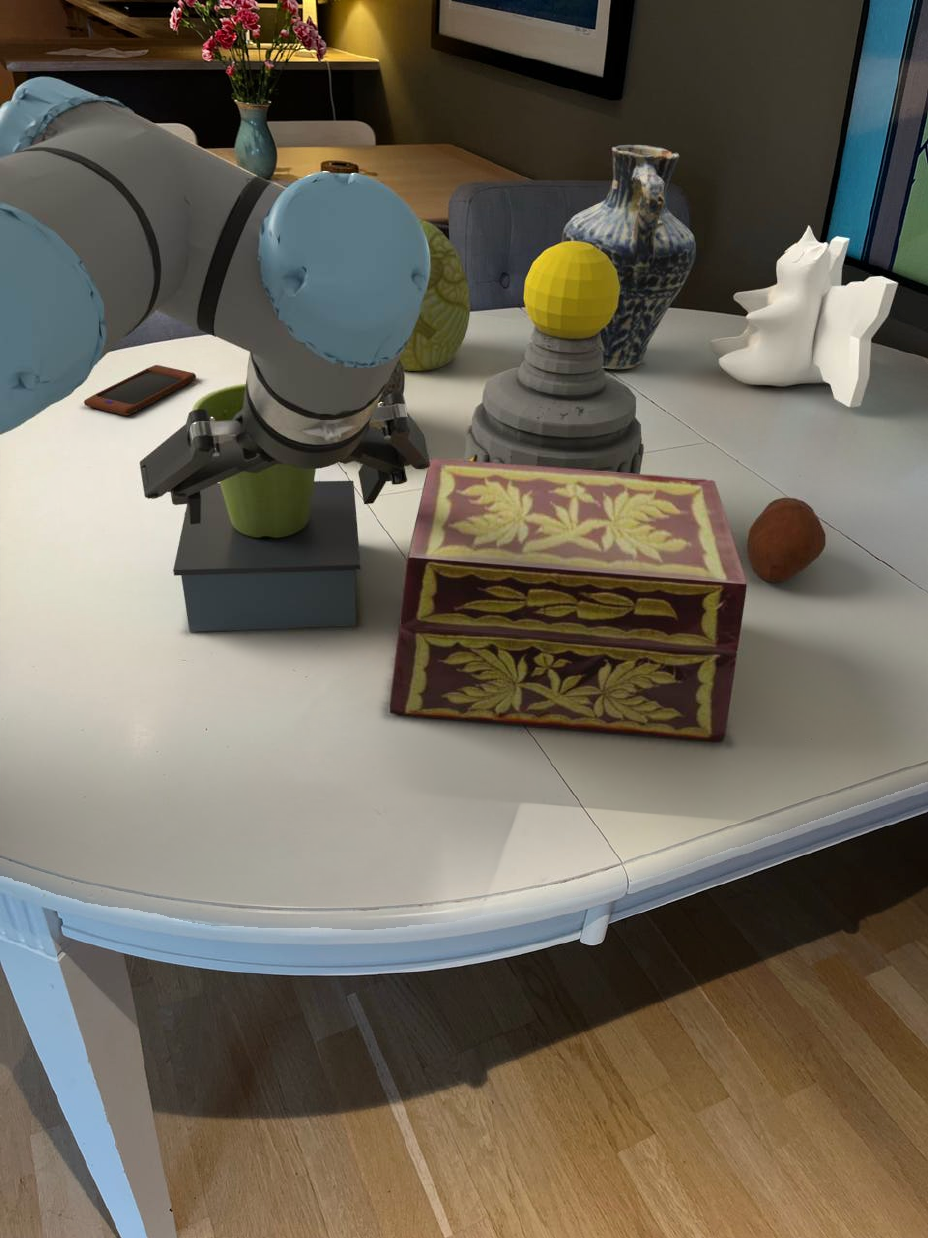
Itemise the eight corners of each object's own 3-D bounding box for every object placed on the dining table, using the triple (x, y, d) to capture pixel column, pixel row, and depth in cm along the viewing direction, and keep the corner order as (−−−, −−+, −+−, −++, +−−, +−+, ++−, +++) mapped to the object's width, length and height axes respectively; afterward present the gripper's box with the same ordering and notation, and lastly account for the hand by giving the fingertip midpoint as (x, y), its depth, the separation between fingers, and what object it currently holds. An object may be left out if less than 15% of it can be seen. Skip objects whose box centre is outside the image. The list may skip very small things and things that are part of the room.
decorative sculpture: (412, 387, 136) (414, 240, 124) (337, 355, 144) (333, 215, 133) (489, 361, 146) (498, 223, 134) (414, 332, 154) (417, 200, 143)
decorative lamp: (437, 495, 110) (448, 220, 92) (586, 477, 115) (622, 214, 98) (495, 583, 95) (520, 276, 78) (661, 557, 101) (719, 266, 84)
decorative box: (695, 613, 93) (728, 474, 84) (725, 744, 78) (768, 591, 69) (414, 591, 94) (417, 450, 85) (388, 715, 78) (389, 560, 70)
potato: (813, 547, 104) (833, 482, 100) (816, 604, 95) (839, 535, 91) (742, 535, 106) (759, 470, 101) (739, 590, 97) (757, 521, 92)
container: (183, 635, 86) (173, 570, 82) (199, 543, 99) (191, 483, 95) (361, 628, 88) (360, 564, 84) (354, 539, 101) (353, 480, 97)
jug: (536, 338, 155) (556, 133, 138) (649, 337, 158) (682, 137, 141) (570, 387, 138) (597, 162, 121) (696, 385, 142) (740, 165, 124)
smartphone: (81, 399, 124) (155, 363, 136) (83, 406, 125) (156, 369, 136) (126, 410, 122) (197, 372, 133) (127, 417, 123) (197, 378, 134)
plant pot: (181, 539, 86) (164, 423, 79) (244, 482, 95) (233, 374, 89) (301, 565, 83) (294, 447, 77) (354, 504, 93) (351, 394, 86)
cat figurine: (696, 347, 156) (723, 208, 143) (826, 355, 155) (865, 217, 143) (723, 408, 135) (758, 252, 123) (874, 417, 135) (923, 263, 123)
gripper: (93, 471, 51) (122, 563, 71) (526, 429, 58) (441, 524, 78) (73, 339, 52) (107, 467, 72) (501, 314, 59) (424, 437, 79)
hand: (281, 497), depth 75 cm, fingers open, 13 cm apart
